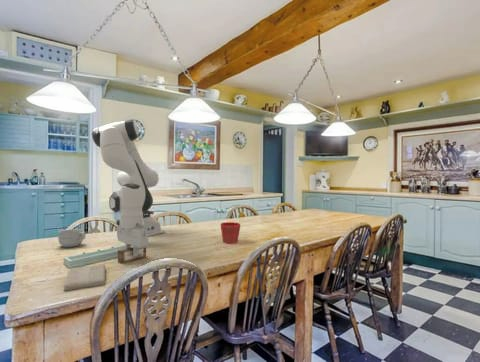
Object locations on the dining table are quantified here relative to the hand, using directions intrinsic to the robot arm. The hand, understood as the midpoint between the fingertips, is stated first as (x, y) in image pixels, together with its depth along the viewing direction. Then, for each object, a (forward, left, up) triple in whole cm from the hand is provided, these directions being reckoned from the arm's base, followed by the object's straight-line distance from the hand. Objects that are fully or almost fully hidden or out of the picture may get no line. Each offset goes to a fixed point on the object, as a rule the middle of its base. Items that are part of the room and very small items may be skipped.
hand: (132, 254), depth 117 cm
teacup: (+9, -43, -2) cm, 44 cm away
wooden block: (0, 0, -2) cm, 2 cm away
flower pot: (-50, +10, -2) cm, 51 cm away
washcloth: (+21, +8, -3) cm, 22 cm away
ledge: (+7, -12, -2) cm, 14 cm away
